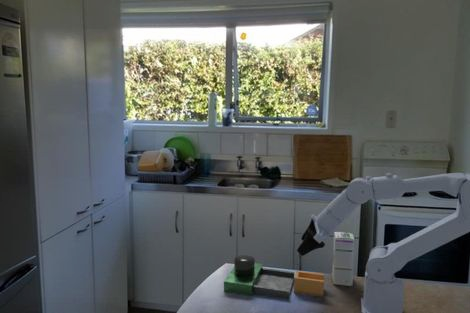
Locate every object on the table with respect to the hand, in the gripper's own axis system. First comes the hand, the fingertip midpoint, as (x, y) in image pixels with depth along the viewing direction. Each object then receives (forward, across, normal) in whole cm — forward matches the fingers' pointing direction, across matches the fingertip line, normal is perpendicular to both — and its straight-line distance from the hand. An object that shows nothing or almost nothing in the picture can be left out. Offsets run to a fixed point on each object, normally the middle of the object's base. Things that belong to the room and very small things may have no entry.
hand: (301, 246), depth 106 cm
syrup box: (+5, -10, +18) cm, 21 cm away
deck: (+18, +1, -1) cm, 18 cm away
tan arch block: (+9, 0, +10) cm, 14 cm away
